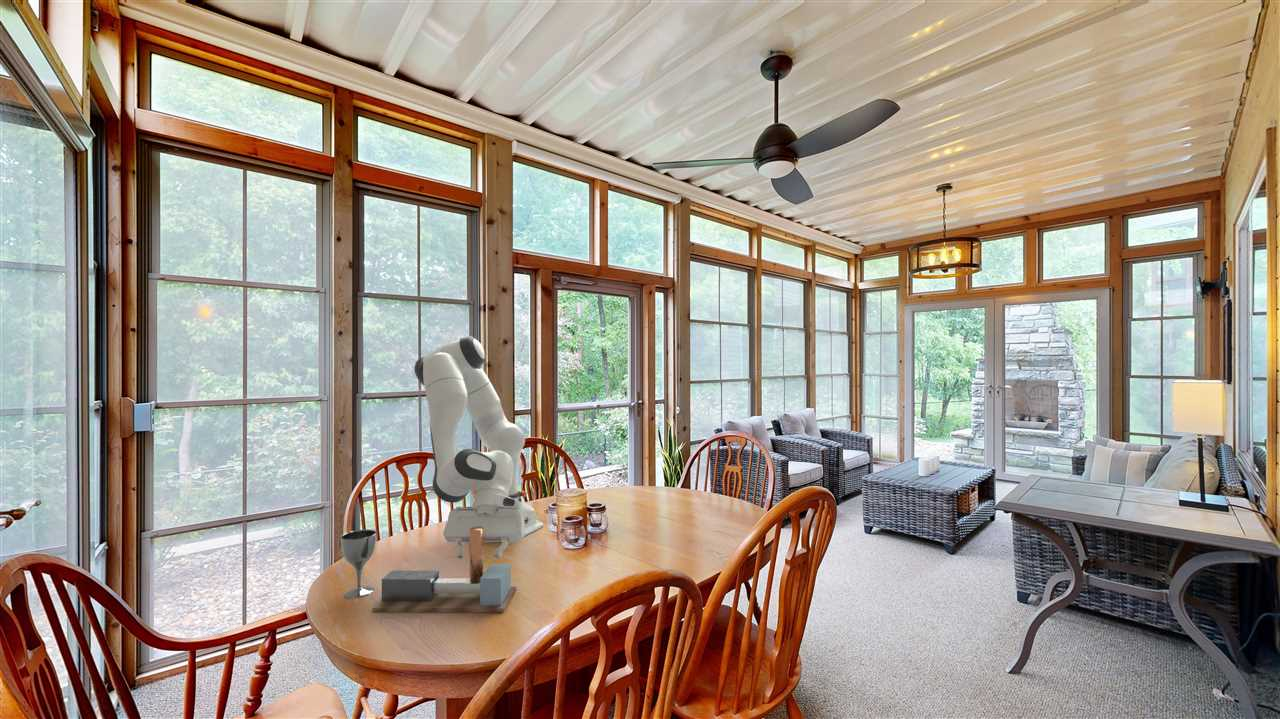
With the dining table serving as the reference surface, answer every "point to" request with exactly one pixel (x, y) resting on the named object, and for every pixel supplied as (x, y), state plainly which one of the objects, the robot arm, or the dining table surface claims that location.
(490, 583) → the socket block
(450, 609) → the walnut board
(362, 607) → the dining table surface
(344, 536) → the wine glass
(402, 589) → the graphite sleeve
